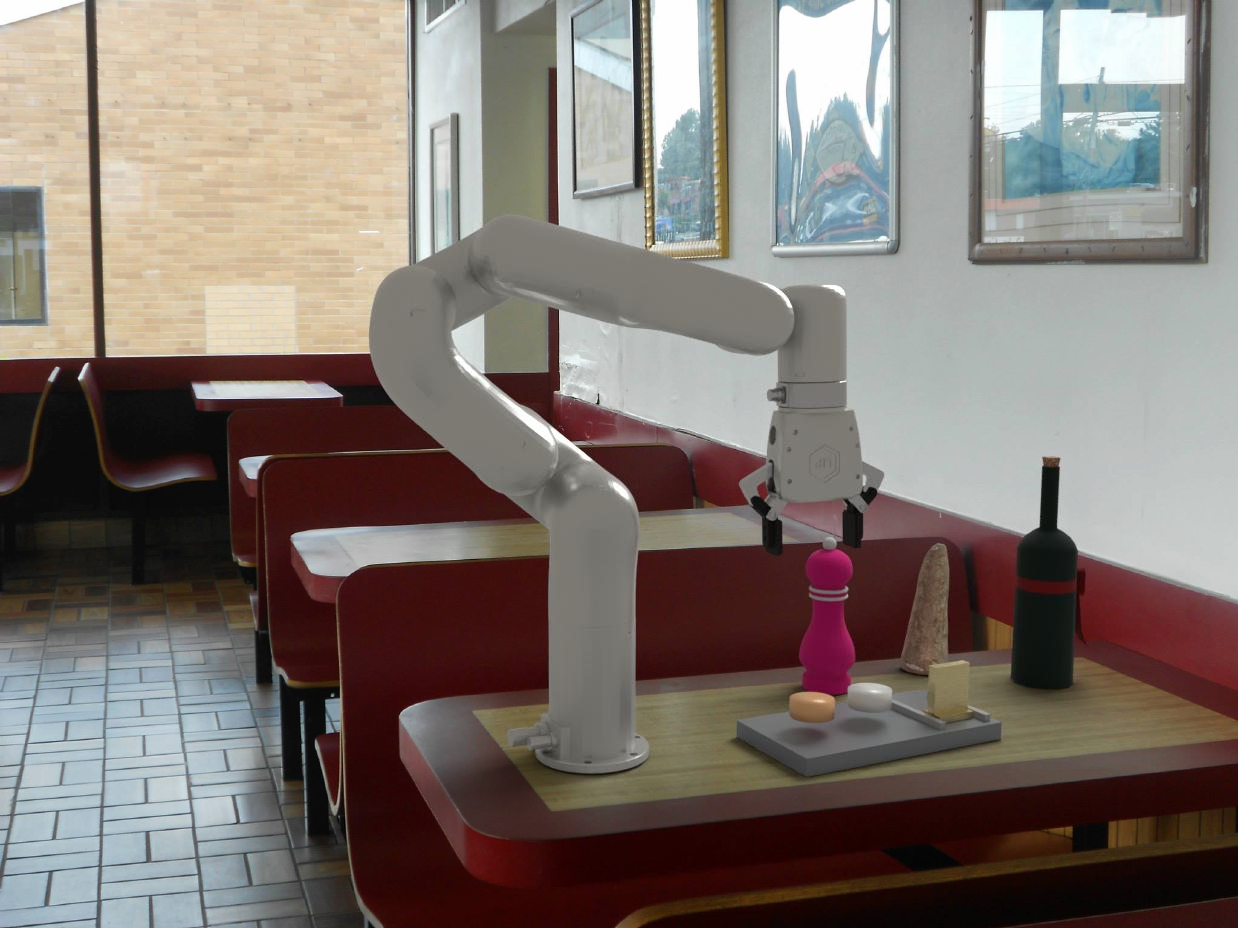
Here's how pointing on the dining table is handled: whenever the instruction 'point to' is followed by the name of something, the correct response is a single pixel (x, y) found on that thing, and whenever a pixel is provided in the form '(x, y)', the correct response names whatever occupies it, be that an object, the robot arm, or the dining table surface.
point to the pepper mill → (827, 623)
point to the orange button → (812, 707)
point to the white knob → (869, 697)
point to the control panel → (864, 735)
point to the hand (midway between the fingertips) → (813, 549)
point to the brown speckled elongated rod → (928, 615)
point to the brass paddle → (949, 691)
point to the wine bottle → (1047, 596)
